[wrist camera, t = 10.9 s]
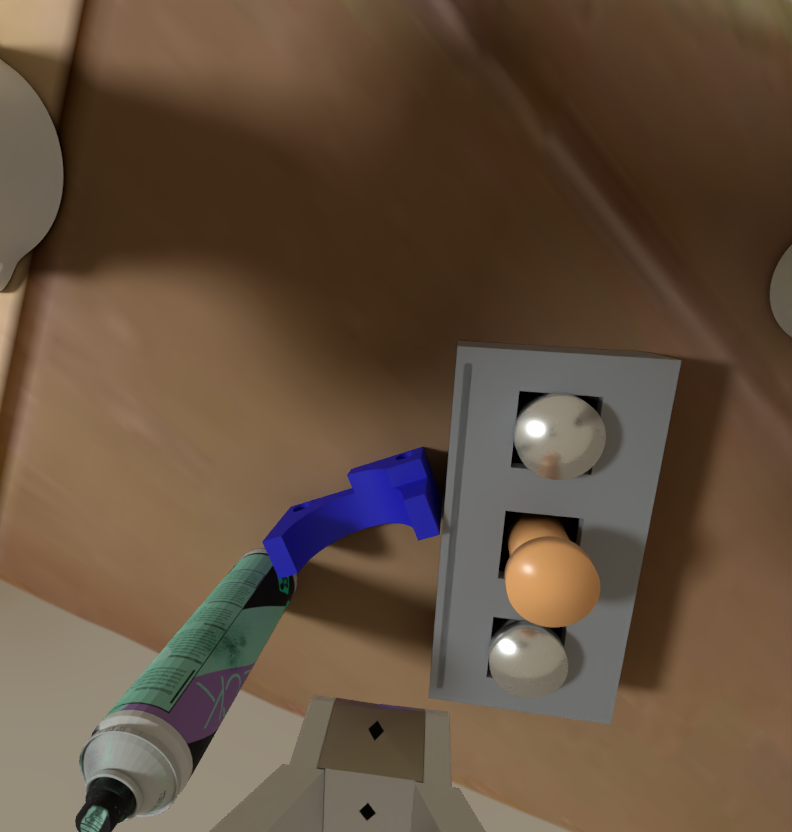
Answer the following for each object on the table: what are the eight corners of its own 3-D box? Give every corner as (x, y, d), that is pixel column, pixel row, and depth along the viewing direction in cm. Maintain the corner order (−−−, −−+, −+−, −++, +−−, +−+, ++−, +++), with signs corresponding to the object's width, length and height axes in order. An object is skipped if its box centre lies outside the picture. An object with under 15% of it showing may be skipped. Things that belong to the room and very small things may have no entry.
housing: (432, 650, 40) (428, 697, 35) (457, 340, 34) (457, 346, 29) (591, 671, 38) (610, 724, 34) (648, 352, 32) (681, 360, 28)
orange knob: (494, 567, 34) (502, 621, 28) (501, 499, 33) (511, 541, 27) (569, 575, 33) (593, 632, 27) (579, 507, 32) (607, 551, 26)
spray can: (239, 604, 41) (47, 866, 22) (233, 547, 40) (24, 771, 21) (299, 607, 41) (156, 881, 21) (295, 549, 39) (139, 785, 20)
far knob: (481, 634, 39) (485, 692, 33) (487, 577, 37) (493, 627, 32) (546, 642, 38) (562, 703, 32) (555, 585, 37) (573, 637, 31)
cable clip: (423, 446, 36) (416, 473, 30) (442, 498, 37) (439, 534, 31) (284, 489, 38) (253, 522, 33) (305, 538, 39) (278, 578, 33)
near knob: (502, 447, 35) (511, 475, 29) (509, 377, 34) (520, 392, 28) (574, 453, 34) (598, 484, 29) (585, 383, 33) (612, 399, 27)
